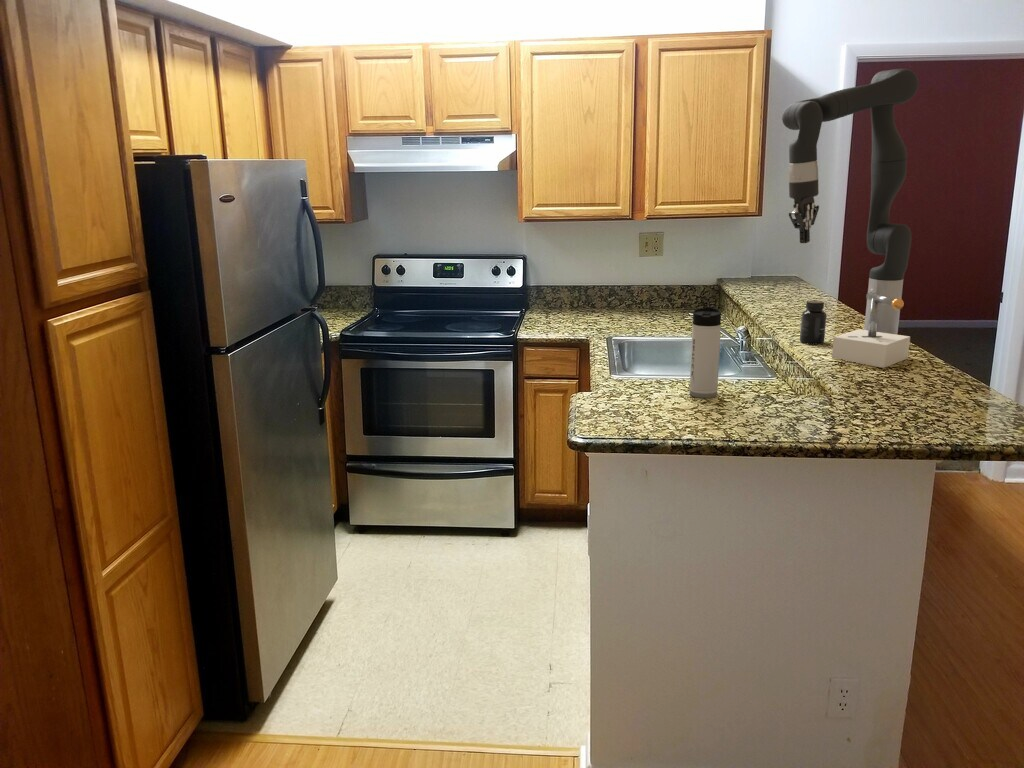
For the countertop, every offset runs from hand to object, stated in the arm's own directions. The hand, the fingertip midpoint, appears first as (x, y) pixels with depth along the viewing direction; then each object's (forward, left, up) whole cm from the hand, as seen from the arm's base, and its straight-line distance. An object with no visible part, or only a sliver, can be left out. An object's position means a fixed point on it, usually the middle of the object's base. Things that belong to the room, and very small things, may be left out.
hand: (804, 242), depth 222 cm
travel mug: (+59, +10, -30) cm, 67 cm away
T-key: (+3, +25, -23) cm, 34 cm away
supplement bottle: (-8, 0, -30) cm, 31 cm away
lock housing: (0, +21, -30) cm, 36 cm away
